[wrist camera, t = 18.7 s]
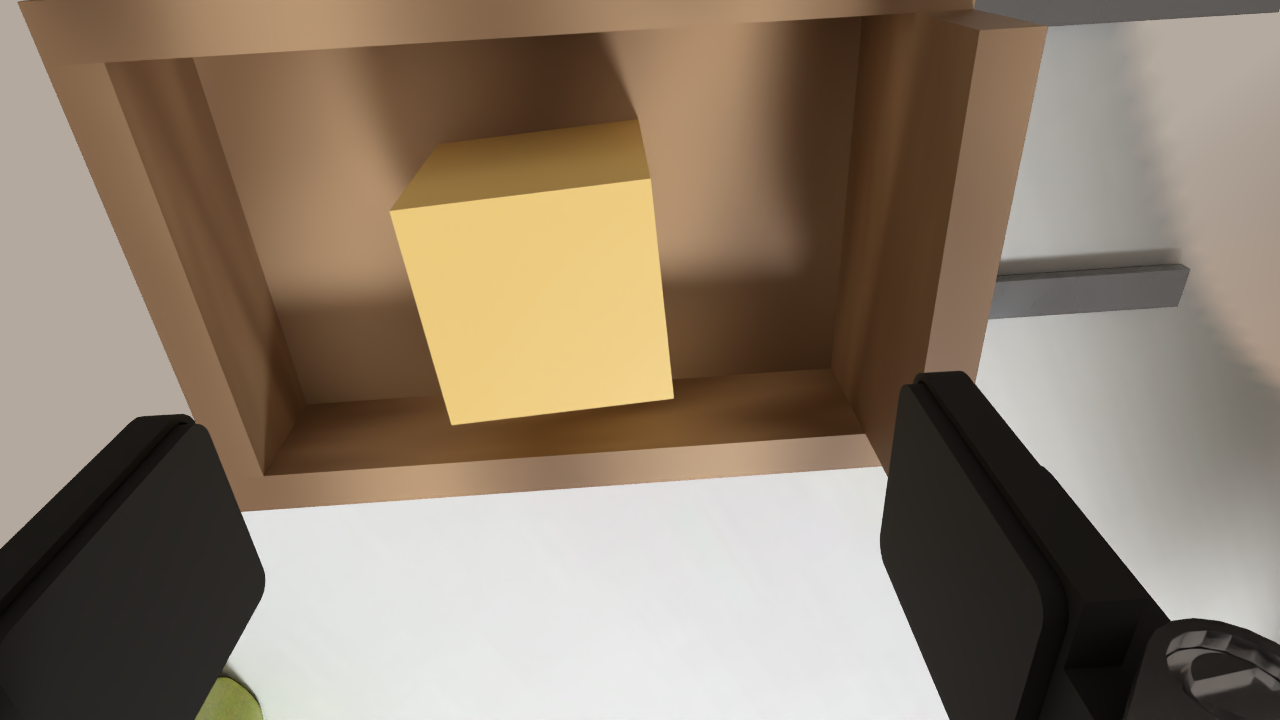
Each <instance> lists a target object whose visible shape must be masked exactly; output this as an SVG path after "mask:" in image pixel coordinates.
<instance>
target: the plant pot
mask: <svg viewBox="0 0 1280 720" xmlns="http://www.w3.org/2000/svg"><path fill="white" fill-rule="evenodd" d="M195 720H263V715H262V712H261V709H260V707H259V705H258V703H257V702H256V700H255V699H254V698H253V697H252V695H251V694H250V693H249V692H248V691H247V690H246V689H245V688H243V687H242V686H241V685H240V684H238V683H237V682H235V681H233V680H232V679H230V678H226V677H224V678H217V680H216V682H215V684H214V686H213V687H212V689H211V691H210V693H209V695H208V696H207V698H206V700H205V702H204V704H203V706H202V707H201V709H200V711H199V713H198V715H197V717H196V718H195Z"/></svg>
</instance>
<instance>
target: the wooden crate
mask: <svg viewBox="0 0 1280 720" xmlns="http://www.w3.org/2000/svg"><path fill="white" fill-rule="evenodd" d="M18 4H19V7H20V9H21V12H22V14H23V16H24V18H25V21H26V23H27V26H28V28H29V30H30V33H31V35H32V37H33V40H34V42H35V45H36V47H37V49H38V52H39V54H40V56H41V58H42V61H43V63H44V66H45V68H46V71H47V73H48V75H49V78H50V80H51V82H52V84H53V87H54V89H55V92H56V94H57V96H58V99H59V101H60V103H61V106H62V108H63V111H64V113H65V115H66V118H67V120H68V122H69V125H70V127H71V129H72V132H73V134H74V136H75V139H76V141H77V144H78V146H79V148H80V151H81V153H82V155H83V157H84V160H85V162H86V165H87V167H88V169H89V172H90V174H91V177H92V179H93V181H94V184H95V186H96V188H97V191H98V193H99V195H100V198H101V200H102V202H103V205H104V207H105V210H106V212H107V214H108V217H109V219H110V221H111V224H112V226H113V228H114V231H115V233H116V236H117V238H118V240H119V243H120V245H121V247H122V250H123V252H124V254H125V257H126V259H127V261H128V264H129V266H130V269H131V271H132V273H133V276H134V278H135V280H136V283H137V285H138V287H139V290H140V292H141V294H142V297H143V299H144V302H145V304H146V306H147V309H148V311H149V313H150V316H151V318H152V320H153V323H154V325H155V327H156V330H157V332H158V335H159V337H160V339H161V341H162V344H163V346H164V349H165V351H166V353H167V356H168V358H169V360H170V362H171V365H172V367H173V370H174V372H175V375H176V377H177V379H178V382H179V384H180V386H181V388H182V391H183V393H184V396H185V398H186V400H187V403H188V405H189V408H190V410H191V412H192V415H193V417H194V419H195V422H196V424H201V425H203V426H204V427H205V428H207V430H208V432H209V434H210V436H211V438H212V441H213V443H214V446H215V448H216V451H217V454H218V456H219V459H220V461H221V464H222V466H223V469H224V471H225V474H226V476H227V479H228V481H229V484H230V486H231V489H232V491H233V494H234V496H235V499H236V501H237V504H238V506H239V509H240V511H241V512H245V511H259V510H273V509H287V508H301V507H315V506H330V505H344V504H358V503H372V502H386V501H400V500H414V499H428V498H442V497H456V496H470V495H484V494H498V493H512V492H526V491H540V490H554V489H568V488H582V487H596V486H610V485H624V484H638V483H652V482H666V481H680V480H694V479H709V478H723V477H737V476H751V475H765V474H779V473H793V472H807V471H821V470H835V469H849V468H863V467H877V466H882V467H883V469H884V471H885V473H886V474H887V476H888V474H889V467H890V459H891V452H892V444H893V437H894V430H895V422H896V415H897V407H898V400H899V394H900V390H901V388H902V386H903V385H904V384H913V380H914V378H915V376H916V375H917V374H918V373H927V372H945V371H964V372H965V373H966V374H967V375H968V376H969V377H970V379H971V380H972V381H973V382H974V383H975V381H976V376H977V371H978V366H979V361H980V357H981V352H982V347H983V342H984V337H985V332H986V327H987V322H988V317H989V312H990V308H991V303H992V298H993V293H994V288H995V283H996V278H997V273H998V268H999V263H1000V259H1001V254H1002V249H1003V244H1004V239H1005V234H1006V229H1007V224H1008V219H1009V214H1010V210H1011V205H1012V200H1013V195H1014V190H1015V185H1016V180H1017V175H1018V170H1019V165H1020V161H1021V156H1022V151H1023V146H1024V141H1025V136H1026V131H1027V126H1028V121H1029V116H1030V112H1031V107H1032V102H1033V97H1034V92H1035V87H1036V82H1037V77H1038V72H1039V67H1040V63H1041V58H1042V53H1043V48H1044V43H1045V38H1046V33H1047V28H1048V26H1045V25H1041V24H1037V23H1032V22H1028V21H1024V20H1019V19H1015V18H1010V17H1006V16H1002V15H997V14H993V13H989V12H984V11H980V10H975V9H974V4H975V0H27V1H19V2H18ZM635 119H638V120H639V124H640V129H641V134H642V139H643V144H644V149H645V153H646V158H647V163H648V168H649V173H650V178H651V186H652V195H653V205H654V214H655V224H656V233H657V243H658V252H659V262H660V271H661V281H662V290H663V299H664V309H665V318H666V328H667V337H668V347H669V356H670V366H671V375H672V384H673V394H674V399H666V400H658V401H650V402H641V403H633V404H625V405H616V406H608V407H600V408H591V409H583V410H575V411H566V412H558V413H550V414H541V415H533V416H525V417H516V418H508V419H500V420H491V421H483V422H475V423H466V424H458V425H451V422H450V418H449V415H448V411H447V408H446V404H445V401H444V398H443V394H442V391H441V387H440V384H439V380H438V377H437V374H436V370H435V367H434V363H433V360H432V356H431V353H430V349H429V346H428V343H427V339H426V336H425V332H424V329H423V325H422V322H421V319H420V315H419V312H418V308H417V305H416V301H415V298H414V294H413V291H412V288H411V284H410V281H409V277H408V274H407V270H406V267H405V264H404V260H403V257H402V253H401V250H400V246H399V243H398V240H397V236H396V233H395V229H394V226H393V222H392V219H391V215H390V212H389V211H390V209H391V208H392V207H393V205H394V204H395V202H396V201H397V200H398V198H399V197H400V196H401V194H402V193H403V191H404V190H405V189H406V187H407V186H408V184H409V183H410V182H411V180H412V179H413V178H414V176H415V175H416V173H417V172H418V171H419V169H420V168H421V167H422V165H423V164H424V162H425V161H426V160H427V158H428V157H429V156H430V154H431V153H432V151H433V150H434V149H435V147H436V146H437V144H444V143H452V142H460V141H468V140H476V139H484V138H492V137H500V136H508V135H516V134H524V133H532V132H539V131H547V130H555V129H563V128H571V127H579V126H587V125H595V124H603V123H611V122H619V121H627V120H635Z"/></svg>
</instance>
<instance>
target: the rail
mask: <svg viewBox="0 0 1280 720" xmlns="http://www.w3.org/2000/svg"><path fill="white" fill-rule="evenodd" d="M974 9H975V10H980V11H984V12H989V13H993V14H997V15H1002V16H1006V17H1010V18H1015V19H1019V20H1024V21H1028V22H1032V23H1037V24H1041V25H1045V26H1063V25H1079V24H1095V23H1111V22H1127V21H1143V20H1159V19H1175V18H1191V17H1205V16H1206V17H1207V16H1224V15H1239V14H1256V13H1272V12H1279V9H1280V0H975V4H974ZM1189 272H1190V269H1189V268H1187V267H1186V266H1184V265H1182V264H1170V265H1155V266H1140V267H1125V268H1111V269H1096V270H1081V271H1066V272H1051V273H1036V274H1021V275H1007V276H997V278H996V283H995V288H994V293H993V298H992V303H991V308H990V312H989V317H988V319H1000V318H1014V317H1029V316H1044V315H1058V314H1073V313H1088V312H1102V311H1117V310H1131V309H1146V308H1161V307H1175V306H1178V304H1179V301H1180V298H1181V295H1182V292H1183V289H1184V286H1185V283H1186V280H1187V277H1188V274H1189Z"/></svg>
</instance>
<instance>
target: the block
mask: <svg viewBox="0 0 1280 720" xmlns="http://www.w3.org/2000/svg"><path fill="white" fill-rule="evenodd" d="M389 212H390V215H391V219H392V222H393V226H394V229H395V233H396V236H397V240H398V243H399V246H400V250H401V253H402V257H403V260H404V264H405V267H406V270H407V274H408V277H409V281H410V284H411V288H412V291H413V294H414V298H415V301H416V305H417V308H418V312H419V315H420V319H421V322H422V325H423V329H424V332H425V336H426V339H427V343H428V346H429V349H430V353H431V356H432V360H433V363H434V367H435V370H436V374H437V377H438V380H439V384H440V387H441V391H442V394H443V398H444V401H445V404H446V408H447V411H448V415H449V418H450V422H451V425H458V424H466V423H475V422H483V421H491V420H500V419H508V418H516V417H525V416H533V415H541V414H550V413H558V412H566V411H575V410H583V409H591V408H600V407H608V406H616V405H625V404H633V403H641V402H650V401H658V400H666V399H674V394H673V384H672V375H671V366H670V356H669V347H668V337H667V328H666V318H665V309H664V299H663V290H662V281H661V271H660V262H659V252H658V243H657V233H656V224H655V214H654V205H653V195H652V186H651V178H650V173H649V168H648V163H647V158H646V153H645V149H644V144H643V139H642V134H641V129H640V124H639V120H638V119H635V120H627V121H619V122H611V123H603V124H595V125H587V126H579V127H571V128H563V129H555V130H547V131H539V132H532V133H524V134H516V135H508V136H500V137H492V138H484V139H476V140H468V141H460V142H452V143H444V144H437V146H436V147H435V149H434V150H433V151H432V153H431V154H430V156H429V157H428V158H427V160H426V161H425V162H424V164H423V165H422V167H421V168H420V169H419V171H418V172H417V173H416V175H415V176H414V178H413V179H412V180H411V182H410V183H409V184H408V186H407V187H406V189H405V190H404V191H403V193H402V194H401V196H400V197H399V198H398V200H397V201H396V202H395V204H394V205H393V207H392V208H391V209H390V211H389Z"/></svg>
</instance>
